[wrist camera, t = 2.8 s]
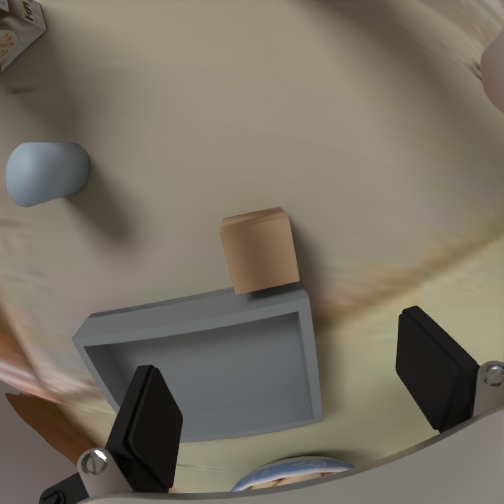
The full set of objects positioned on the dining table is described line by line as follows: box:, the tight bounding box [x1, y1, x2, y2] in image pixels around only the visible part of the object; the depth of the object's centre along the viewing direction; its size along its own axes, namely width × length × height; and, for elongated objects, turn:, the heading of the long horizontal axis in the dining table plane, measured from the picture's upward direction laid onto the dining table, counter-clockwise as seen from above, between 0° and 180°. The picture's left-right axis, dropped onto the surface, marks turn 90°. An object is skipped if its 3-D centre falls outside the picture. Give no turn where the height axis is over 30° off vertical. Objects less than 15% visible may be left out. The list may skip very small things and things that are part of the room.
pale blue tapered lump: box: [5, 142, 90, 207], centre depth 20 cm, size 5×5×7 cm
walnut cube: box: [220, 207, 300, 295], centre depth 24 cm, size 5×5×5 cm
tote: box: [72, 278, 323, 442], centre depth 28 cm, size 22×16×5 cm
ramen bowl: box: [231, 456, 355, 491], centre depth 35 cm, size 25×23×8 cm
